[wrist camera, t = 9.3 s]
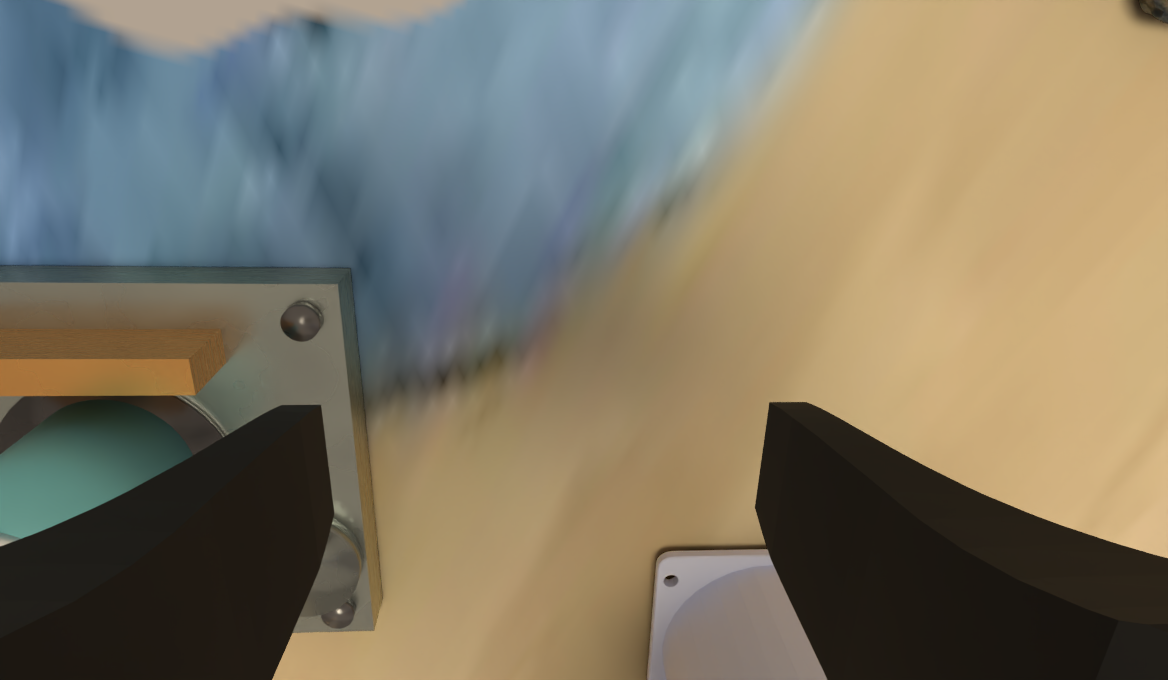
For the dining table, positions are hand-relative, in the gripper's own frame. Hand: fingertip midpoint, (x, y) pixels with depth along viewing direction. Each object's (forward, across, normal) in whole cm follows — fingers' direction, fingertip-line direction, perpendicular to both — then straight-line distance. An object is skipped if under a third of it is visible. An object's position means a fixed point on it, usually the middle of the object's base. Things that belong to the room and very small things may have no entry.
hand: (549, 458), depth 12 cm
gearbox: (+10, +11, +6) cm, 16 cm away
